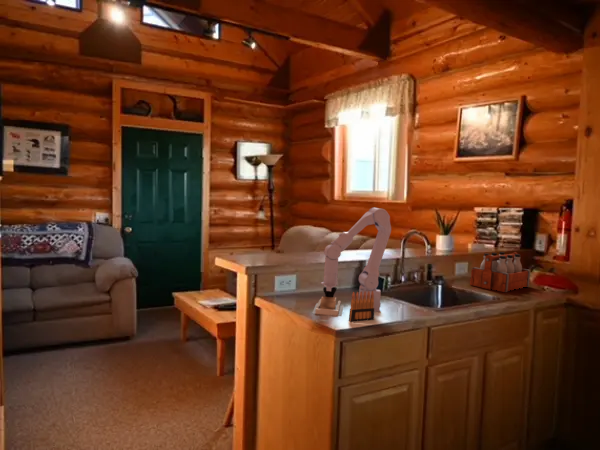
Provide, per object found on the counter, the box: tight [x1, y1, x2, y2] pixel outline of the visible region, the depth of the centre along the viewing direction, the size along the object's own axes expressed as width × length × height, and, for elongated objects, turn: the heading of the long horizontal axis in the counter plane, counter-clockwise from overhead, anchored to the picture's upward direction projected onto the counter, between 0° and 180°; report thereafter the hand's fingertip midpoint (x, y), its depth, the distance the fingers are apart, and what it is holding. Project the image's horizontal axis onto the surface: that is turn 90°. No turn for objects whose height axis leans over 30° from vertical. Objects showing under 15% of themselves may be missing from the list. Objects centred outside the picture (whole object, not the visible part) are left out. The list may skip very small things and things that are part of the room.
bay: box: [311, 298, 344, 317], centre depth 202 cm, size 12×18×2 cm, turn 172°
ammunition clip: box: [348, 290, 375, 323], centre depth 188 cm, size 11×2×12 cm, turn 116°
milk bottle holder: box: [469, 251, 531, 293], centre depth 276 cm, size 21×35×19 cm, turn 130°
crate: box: [320, 295, 337, 310], centre depth 200 cm, size 6×6×5 cm
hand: (329, 304), depth 205 cm, fingers closed
